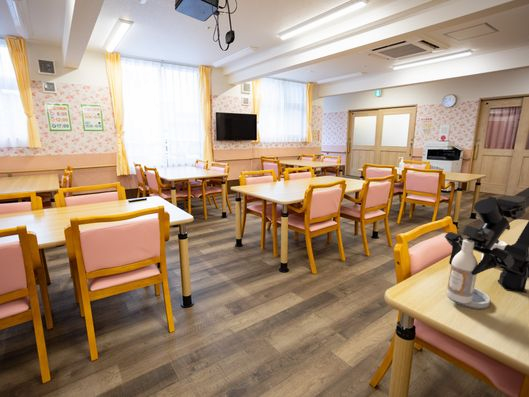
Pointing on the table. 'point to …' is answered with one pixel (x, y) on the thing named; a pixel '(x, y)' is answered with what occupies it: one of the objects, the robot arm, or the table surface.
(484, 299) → the round grey tray
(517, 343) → the table surface
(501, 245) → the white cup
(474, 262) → the bath foam
